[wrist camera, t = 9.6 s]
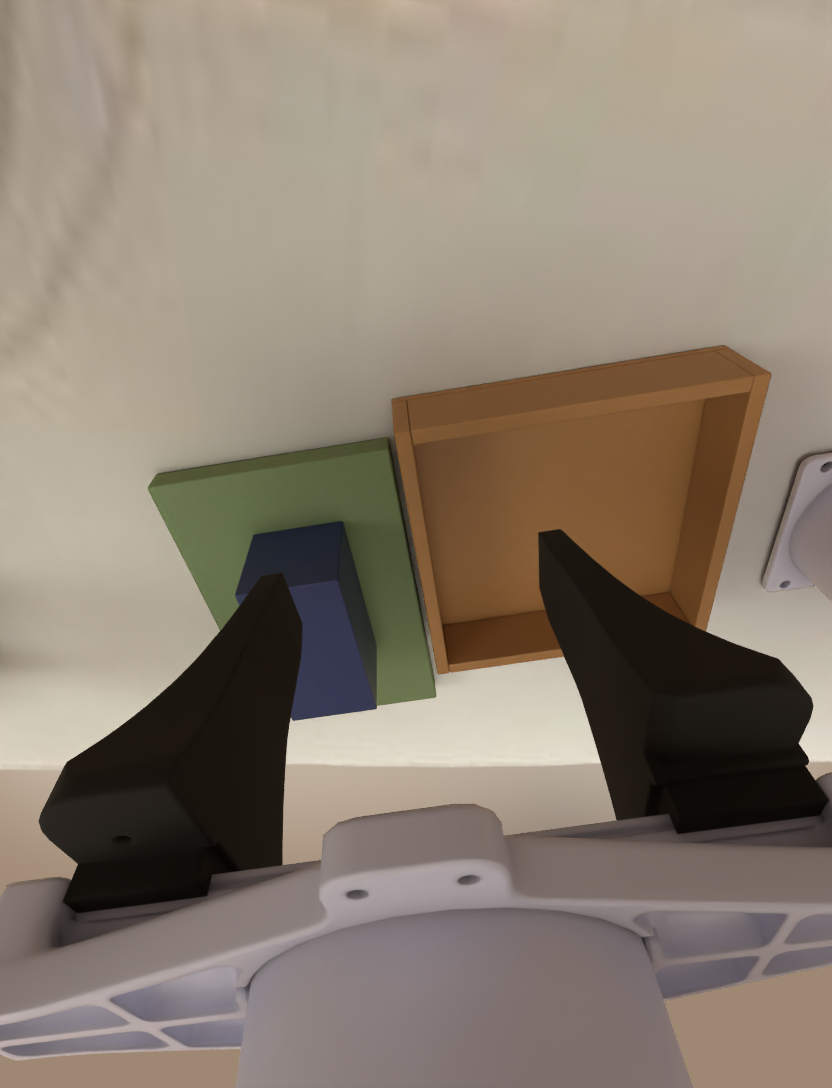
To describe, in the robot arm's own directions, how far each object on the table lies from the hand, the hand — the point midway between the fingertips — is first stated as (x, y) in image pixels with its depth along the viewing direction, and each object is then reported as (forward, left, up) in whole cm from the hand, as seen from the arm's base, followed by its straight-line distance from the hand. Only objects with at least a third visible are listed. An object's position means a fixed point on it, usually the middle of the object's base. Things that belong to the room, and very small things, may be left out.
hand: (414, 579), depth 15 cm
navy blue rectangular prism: (+5, +7, -8) cm, 12 cm away
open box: (-6, +5, -9) cm, 12 cm away
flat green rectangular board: (+6, +8, -9) cm, 13 cm away
